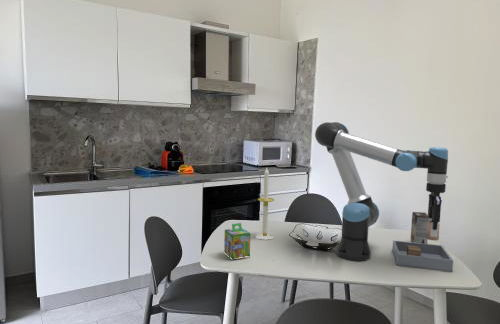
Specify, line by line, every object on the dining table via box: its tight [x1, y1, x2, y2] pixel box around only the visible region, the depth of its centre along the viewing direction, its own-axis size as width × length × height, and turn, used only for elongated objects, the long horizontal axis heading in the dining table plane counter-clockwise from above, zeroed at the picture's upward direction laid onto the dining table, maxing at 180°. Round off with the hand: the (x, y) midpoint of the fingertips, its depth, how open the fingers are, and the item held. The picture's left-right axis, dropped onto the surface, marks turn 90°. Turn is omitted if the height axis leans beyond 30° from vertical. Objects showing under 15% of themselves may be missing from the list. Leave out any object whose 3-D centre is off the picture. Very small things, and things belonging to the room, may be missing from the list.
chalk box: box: [223, 222, 251, 259], centre depth 167 cm, size 9×9×15 cm
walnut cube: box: [407, 245, 421, 256], centre depth 167 cm, size 5×5×5 cm
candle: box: [257, 167, 275, 236], centre depth 193 cm, size 10×10×38 cm
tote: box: [391, 240, 454, 273], centre depth 167 cm, size 22×20×5 cm
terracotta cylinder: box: [426, 222, 441, 241], centre depth 164 cm, size 5×5×7 cm
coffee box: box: [409, 211, 429, 244], centre depth 187 cm, size 9×6×16 cm
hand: (432, 234), depth 164 cm, fingers closed on terracotta cylinder, 5 cm apart
